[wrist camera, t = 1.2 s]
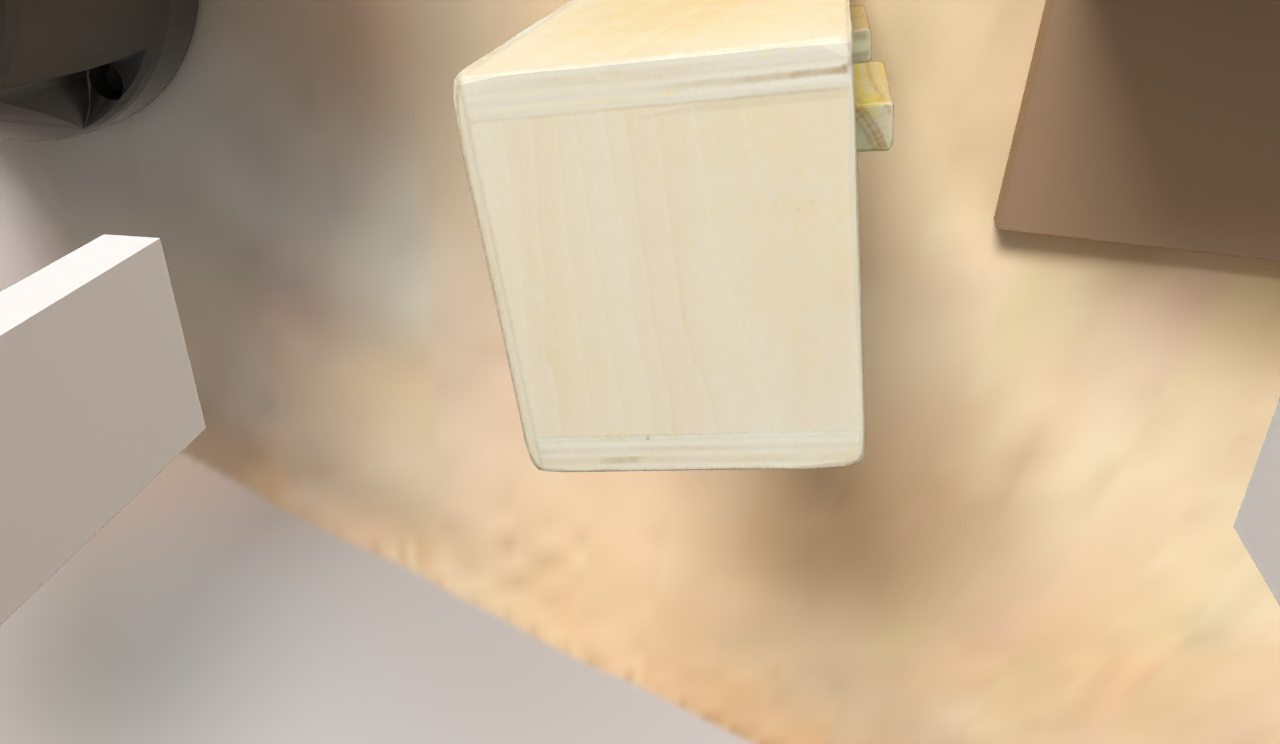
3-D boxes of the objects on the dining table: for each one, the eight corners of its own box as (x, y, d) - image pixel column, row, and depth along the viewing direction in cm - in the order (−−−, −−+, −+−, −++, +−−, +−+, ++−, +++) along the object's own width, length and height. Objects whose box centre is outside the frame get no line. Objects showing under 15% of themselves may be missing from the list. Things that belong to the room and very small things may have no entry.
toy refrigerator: (873, 157, 36) (903, 475, 18) (676, 172, 38) (519, 477, 20) (869, -81, 33) (900, 16, 14) (651, -53, 34) (432, 64, 16)
